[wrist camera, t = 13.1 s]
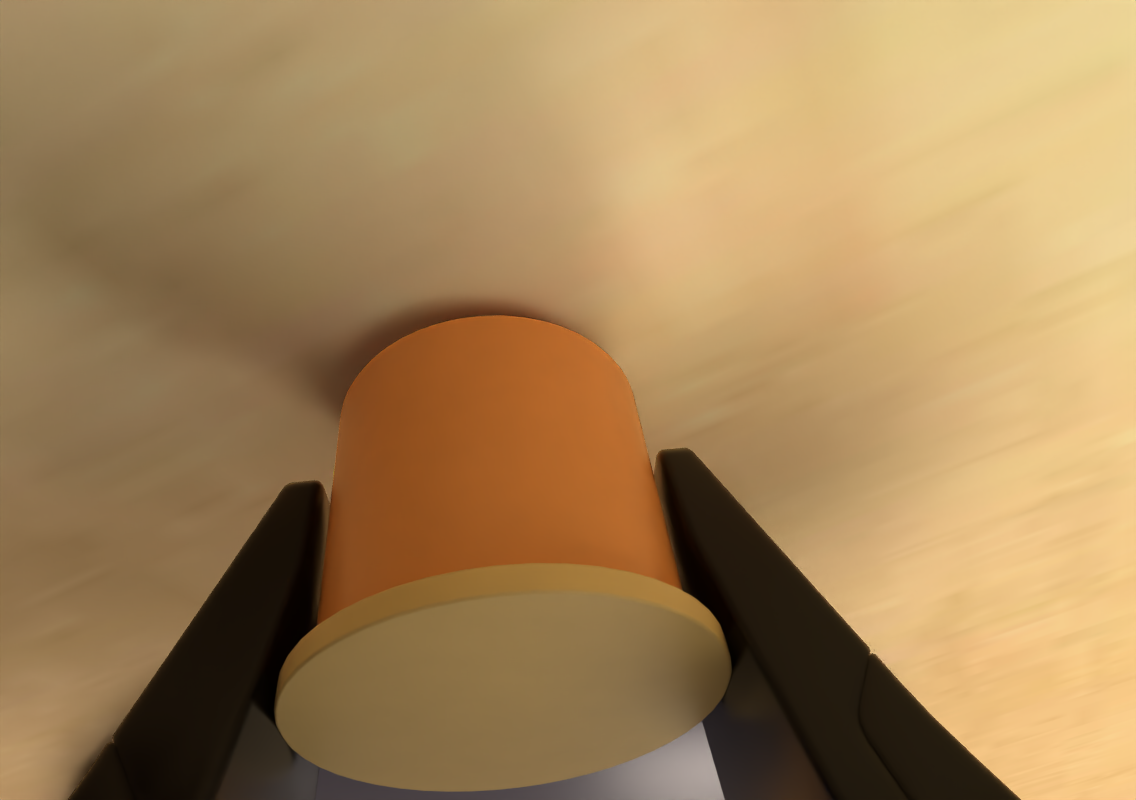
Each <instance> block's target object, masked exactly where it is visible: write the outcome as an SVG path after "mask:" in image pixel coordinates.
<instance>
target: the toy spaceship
mask: <svg viewBox="0 0 1136 800" xmlns="http://www.w3.org/2000/svg"><path fill="white" fill-rule="evenodd" d="M315 800H725V799H724V795H723V792H722V789H721V785H720V782H719V778H718V775H717V771H716V768H715V764H714V761H713V758H712V754H711V751H710V747H709V744H708V740H707V737H706V734H705V730H704V727H703V723H702V721H701V722H700V723H698V724H697V725H696V726H694V727H693V728H692V729H690V730H689V731H688V732H686V733H685V734H683V735H681V736H680V737H678V738H676V739H675V740H673V741H671V742H670V743H668V744H666V745H664V746H662V747H660V748H658V749H656V750H654V751H652V752H649V753H647V754H645V755H642V756H640V757H638V758H635V759H633V760H630V761H628V762H625V763H622V764H619V765H616V766H614V767H611V768H607V769H604V770H601V771H597V772H594V773H590V774H587V775H583V776H578V777H574V778H570V779H566V780H561V781H556V782H551V783H545V784H540V785H533V786H526V787H519V788H509V789H500V790H486V791H455V792H445V791H422V790H411V789H400V788H394V787H387V786H381V785H375V784H371V783H366V782H362V781H357V780H354V779H351V778H347V777H344V776H341V775H338V774H335V773H333V772H330V771H328V770H325V769H323V768H320V769H319V776H318V784H317V791H316V799H315Z"/></svg>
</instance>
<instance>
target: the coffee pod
mask: <svg viewBox="0 0 1136 800" xmlns="http://www.w3.org/2000/svg"><path fill="white" fill-rule="evenodd" d="M731 673H732V665H731V656H730V653H729V649H728V646H727V642H726V639H725V636H724V633H723V631H722V628H721V626H720V624H719V622H718V621H717V620H716V618H715V617H714V616H713V614H712V613H711V612H710V610H709V609H708V608H706V607H705V606H704V605H703V604H702V603H700V602H699V601H698V600H697V599H696V598H694V597H693V596H691V595H689V594H687V593H686V592H684V591H683V589H682V585H681V581H680V578H679V574H678V570H677V566H676V562H675V558H674V554H673V550H672V546H671V542H670V538H669V534H668V530H667V526H666V522H665V518H664V514H663V510H662V506H661V502H660V499H659V495H658V491H657V487H656V483H655V479H654V475H653V471H652V467H651V463H650V459H649V455H648V451H647V447H646V443H645V439H644V435H643V431H642V427H641V423H640V420H639V416H638V412H637V408H636V404H635V400H634V396H633V392H632V390H631V387H630V385H629V382H628V380H627V378H626V376H625V375H624V373H623V372H622V370H621V368H620V367H619V366H618V365H617V364H616V363H615V361H614V360H613V359H612V358H611V357H610V356H609V355H608V354H607V353H606V352H604V351H603V350H602V349H601V348H600V347H598V346H597V345H596V344H595V343H593V342H591V341H590V340H588V339H587V338H585V337H583V336H582V335H580V334H578V333H576V332H573V331H571V330H569V329H567V328H564V327H562V326H559V325H555V324H552V323H549V322H546V321H542V320H536V319H531V318H526V317H517V316H505V315H493V316H475V317H466V318H459V319H454V320H450V321H446V322H441V323H437V324H434V325H432V326H429V327H426V328H423V329H420V330H418V331H415V332H413V333H411V334H409V335H407V336H405V337H403V338H401V339H399V340H398V341H396V342H394V343H393V344H391V345H390V346H388V347H386V348H385V349H384V350H382V351H381V352H380V353H379V354H378V355H376V356H375V357H374V358H373V359H372V360H371V361H370V362H369V363H368V364H367V365H366V366H365V367H364V368H363V370H362V371H361V372H360V373H359V374H358V375H357V377H356V378H355V380H354V381H353V383H352V385H351V386H350V388H349V390H348V392H347V394H346V397H345V399H344V402H343V406H342V411H341V416H340V424H339V433H338V442H337V450H336V459H335V468H334V477H333V485H332V494H331V503H330V512H329V520H328V529H327V538H326V547H325V555H324V564H323V573H322V581H321V590H320V599H319V608H318V616H317V625H316V627H315V628H314V629H312V630H311V631H310V632H309V633H308V634H307V635H306V636H304V637H303V638H302V639H301V640H300V641H299V642H298V644H297V645H296V646H295V647H294V649H293V650H292V651H291V652H290V653H289V655H288V656H287V658H286V660H285V662H284V664H283V666H282V668H281V670H280V673H279V678H278V684H277V690H276V696H275V703H274V716H275V722H276V726H277V728H278V730H279V731H280V733H281V735H282V736H283V738H284V739H285V741H286V742H287V744H288V745H289V746H290V747H291V749H293V750H294V751H295V752H296V753H298V754H299V755H300V756H302V757H303V758H304V759H306V760H308V761H309V762H311V763H313V764H315V765H317V766H318V767H320V768H323V769H325V770H328V771H330V772H333V773H335V774H338V775H341V776H344V777H347V778H351V779H354V780H357V781H362V782H366V783H371V784H375V785H381V786H387V787H394V788H400V789H411V790H422V791H445V792H455V791H486V790H500V789H509V788H519V787H526V786H533V785H540V784H545V783H551V782H556V781H561V780H566V779H570V778H574V777H578V776H583V775H587V774H590V773H594V772H597V771H601V770H604V769H607V768H611V767H614V766H616V765H619V764H622V763H625V762H628V761H630V760H633V759H635V758H638V757H640V756H642V755H645V754H647V753H649V752H652V751H654V750H656V749H658V748H660V747H662V746H664V745H666V744H668V743H670V742H671V741H673V740H675V739H676V738H678V737H680V736H681V735H683V734H685V733H686V732H688V731H689V730H690V729H692V728H693V727H694V726H696V725H697V724H698V723H700V722H701V721H702V720H703V719H704V718H705V717H706V716H707V715H708V714H709V713H711V712H712V711H713V710H714V708H715V707H716V706H717V704H718V703H719V702H720V701H721V699H722V698H723V696H724V694H725V692H726V689H727V687H728V684H729V681H730V678H731Z"/></svg>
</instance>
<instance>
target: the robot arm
mask: <svg viewBox="0 0 1136 800" xmlns="http://www.w3.org/2000/svg"><path fill="white" fill-rule="evenodd" d="M654 479H655V483H656V487H657V491H658V495H659V499H660V502H661V506H662V510H663V514H664V518H665V522H666V526H667V530H668V534H669V538H670V542H671V546H672V550H673V554H674V558H675V562H676V566H677V570H678V574H679V578H680V581H681V585H682V589H683V591H684V592H686V593H687V594H689V595H691V596H693V597H694V598H696V599H697V600H698V601H699V602H700V603H702V604H703V605H704V606H705V607H706V608H708V609H709V610H710V612H711V613H712V614H713V616H714V617H715V618H716V620H717V621H718V622H719V624H720V626H721V628H722V631H723V633H724V636H725V639H726V642H727V646H728V649H729V653H730V656H731V665H732V673H731V678H730V681H729V684H728V687H727V689H726V692H725V694H724V696H723V698H722V699H721V701H720V702H719V703H718V704H717V706H716V707H715V708H714V710H713V711H712V712H711V713H709V714H708V715H707V716H706V717H705V718H704V719H703V720H702V723H703V727H704V730H705V734H706V737H707V740H708V744H709V747H710V751H711V754H712V758H713V761H714V764H715V768H716V771H717V775H718V778H719V782H720V785H721V789H722V792H723V795H724V799H725V800H1021V799H1020V798H1019V797H1018V796H1017V795H1016V794H1014V793H1013V792H1012V791H1011V790H1010V789H1009V788H1008V787H1007V786H1006V785H1005V784H1004V783H1003V782H1001V781H1000V780H999V779H998V778H997V777H996V776H995V775H994V774H993V773H992V772H991V771H990V770H989V769H987V768H986V767H985V766H984V765H983V764H982V763H981V762H980V761H979V760H978V759H977V758H976V757H974V756H973V755H972V754H971V753H970V752H969V751H968V750H967V749H966V748H965V747H964V746H963V745H962V744H961V743H960V742H959V741H958V740H957V739H956V738H955V737H954V736H952V735H951V734H950V733H949V732H948V731H947V730H946V729H945V728H944V727H943V726H942V725H941V724H940V723H939V722H938V721H937V720H936V719H935V718H934V717H933V716H932V715H931V714H930V713H929V712H928V711H927V710H926V709H925V708H924V707H923V706H922V705H921V704H920V703H919V702H918V701H917V699H916V698H915V697H914V696H913V695H912V694H911V693H910V692H909V691H908V690H907V689H906V688H905V687H904V686H903V685H902V684H901V682H900V681H899V680H898V679H897V678H896V677H895V676H894V675H893V674H892V673H891V672H890V670H889V669H888V668H887V667H886V666H885V665H884V664H883V662H882V661H881V660H880V659H879V658H878V657H877V656H876V655H875V654H870V649H869V647H868V646H867V645H866V644H865V643H864V642H863V640H862V639H861V638H860V637H859V636H858V635H857V634H856V633H855V632H854V630H853V629H852V628H851V627H850V626H849V625H848V624H847V623H846V622H845V620H844V619H843V618H842V617H841V616H840V615H839V614H838V613H837V612H836V610H835V609H834V608H833V607H832V606H831V605H830V604H829V603H828V602H827V600H826V599H825V598H824V597H823V596H822V595H821V594H820V593H819V592H818V590H817V589H816V588H815V587H814V586H813V585H812V584H811V583H810V581H809V580H808V579H807V578H806V577H805V576H804V575H803V574H802V573H801V571H800V570H799V569H798V568H797V567H796V566H795V565H794V564H793V563H792V561H791V560H790V559H789V558H788V557H787V556H786V555H785V554H784V553H783V551H782V550H781V549H780V548H779V547H778V546H777V545H776V544H775V543H774V541H773V540H772V539H771V538H770V537H769V536H768V535H767V534H766V532H765V531H764V530H763V529H762V528H761V527H760V526H759V525H758V524H757V522H756V521H755V520H754V519H753V518H752V517H751V516H750V515H749V514H748V512H747V511H746V510H745V509H744V508H743V507H742V506H741V505H740V504H739V502H738V501H737V500H736V499H735V498H734V497H733V496H732V495H731V494H730V492H729V491H728V490H727V489H726V488H725V487H724V486H723V485H722V483H721V482H720V481H719V480H718V479H717V478H716V477H715V476H714V475H713V473H712V472H711V471H710V470H709V469H708V468H707V467H706V466H705V465H704V463H703V462H702V461H701V460H700V459H699V458H698V457H697V456H696V455H695V453H694V452H693V451H691V450H690V449H688V448H676V449H665V450H661V451H659V452H658V454H657V457H656V463H655V470H654ZM329 512H330V503H329V500H328V497H327V494H326V491H325V488H324V486H323V484H322V483H321V482H319V481H315V480H314V481H303V482H292V483H289V484H287V485H286V486H285V487H284V488H283V489H282V491H281V492H280V494H279V495H278V496H277V498H276V499H275V501H274V502H273V504H272V505H271V507H270V508H269V510H268V511H267V512H266V514H265V515H264V517H263V518H262V520H261V521H260V523H259V524H258V526H257V527H256V528H255V530H254V531H253V533H252V534H251V536H250V537H249V539H248V540H247V542H246V543H245V544H244V546H243V547H242V549H241V550H240V552H239V553H238V555H237V556H236V558H235V559H234V560H233V562H232V563H231V565H230V566H229V568H228V569H227V571H226V572H225V574H224V575H223V576H222V578H221V579H220V581H219V582H218V584H217V585H216V587H215V588H214V589H213V591H212V592H211V594H210V595H209V597H208V598H207V600H206V601H205V603H204V604H203V605H202V607H201V608H200V610H199V611H198V613H197V614H196V616H195V617H194V619H193V620H192V621H191V623H190V624H189V626H188V627H187V629H186V630H185V632H184V633H183V635H182V636H181V637H180V639H179V640H178V642H177V643H176V645H175V646H174V648H173V649H172V651H171V652H170V653H169V655H168V656H167V658H166V659H165V661H164V662H163V664H162V665H161V667H160V668H159V669H158V671H157V672H156V674H155V675H154V677H153V678H152V680H151V681H150V683H149V684H148V685H147V687H146V688H145V690H144V691H143V693H142V694H141V696H140V697H139V699H138V700H137V701H136V703H135V704H134V706H133V707H132V709H131V710H130V712H129V713H128V715H127V716H126V717H125V719H124V720H123V722H122V723H121V725H120V726H119V728H118V729H117V731H116V732H115V733H114V735H113V742H114V743H113V742H110V743H108V744H107V745H106V746H105V747H104V749H103V750H102V752H101V753H100V755H99V756H98V758H97V759H96V761H95V762H94V764H93V765H92V766H91V768H90V769H89V771H88V772H87V774H86V775H85V777H84V778H83V779H82V781H81V782H80V783H79V785H78V786H77V788H76V789H75V790H74V792H73V793H72V795H71V796H70V797H69V799H68V800H315V799H316V791H317V784H318V776H319V769H320V767H318V766H317V765H315V764H313V763H311V762H309V761H308V760H306V759H304V758H303V757H302V756H300V755H299V754H298V753H296V752H295V751H294V750H293V749H291V747H290V746H289V745H288V744H287V742H286V741H285V739H284V738H283V736H282V735H281V733H280V731H279V730H278V728H277V726H276V722H275V716H274V703H275V696H276V690H277V684H278V678H279V673H280V670H281V668H282V666H283V664H284V662H285V660H286V658H287V656H288V655H289V653H290V652H291V651H292V650H293V649H294V647H295V646H296V645H297V644H298V642H299V641H300V640H301V639H302V638H303V637H304V636H306V635H307V634H308V633H309V632H310V631H311V630H312V629H314V628H315V627H316V625H317V616H318V608H319V599H320V590H321V581H322V573H323V564H324V555H325V547H326V538H327V529H328V520H329ZM869 654H870V655H869Z"/></svg>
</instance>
